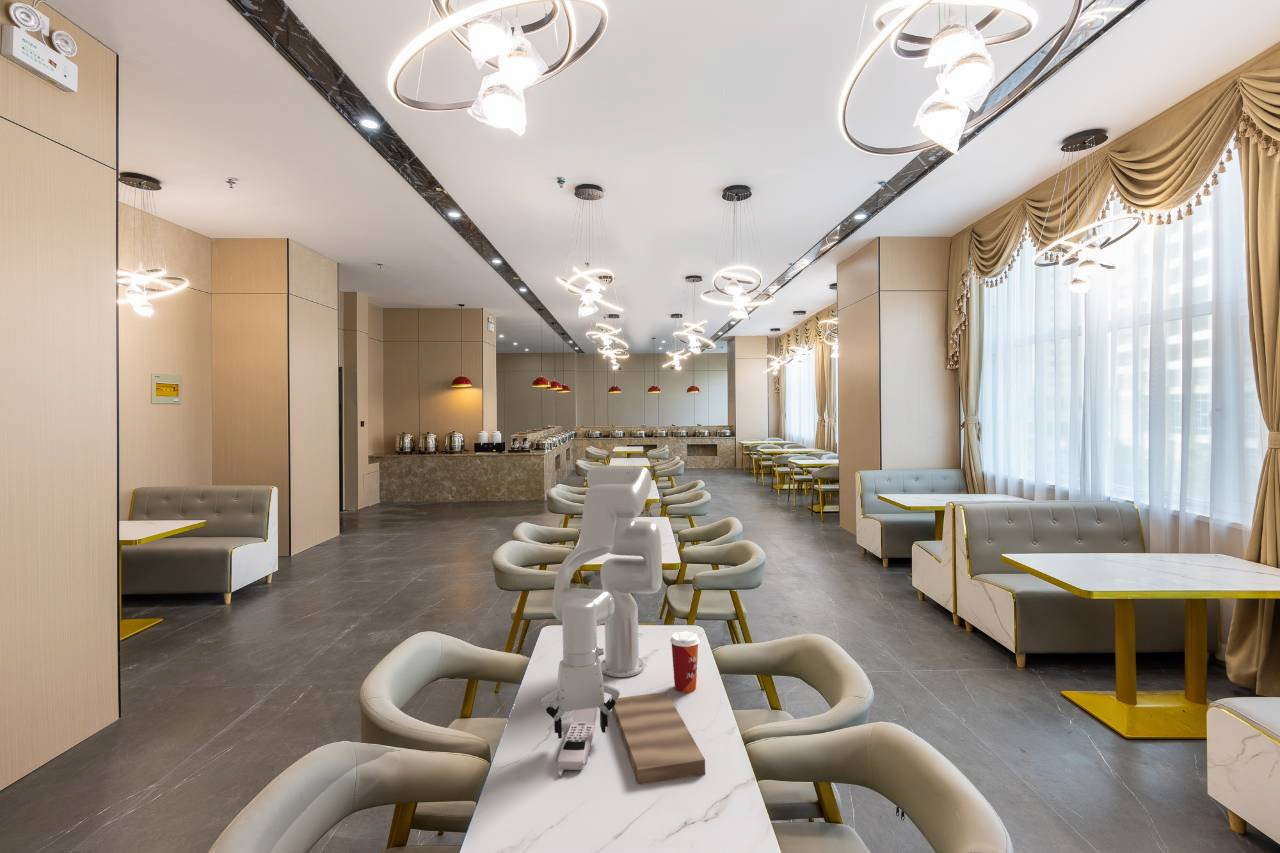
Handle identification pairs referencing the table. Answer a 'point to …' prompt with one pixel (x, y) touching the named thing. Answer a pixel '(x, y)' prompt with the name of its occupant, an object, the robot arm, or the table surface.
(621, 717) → the walnut stand
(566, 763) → the mobile phone
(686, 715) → the table surface
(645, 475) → the robot arm
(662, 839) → the table surface
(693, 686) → the paper cup
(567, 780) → the table surface
